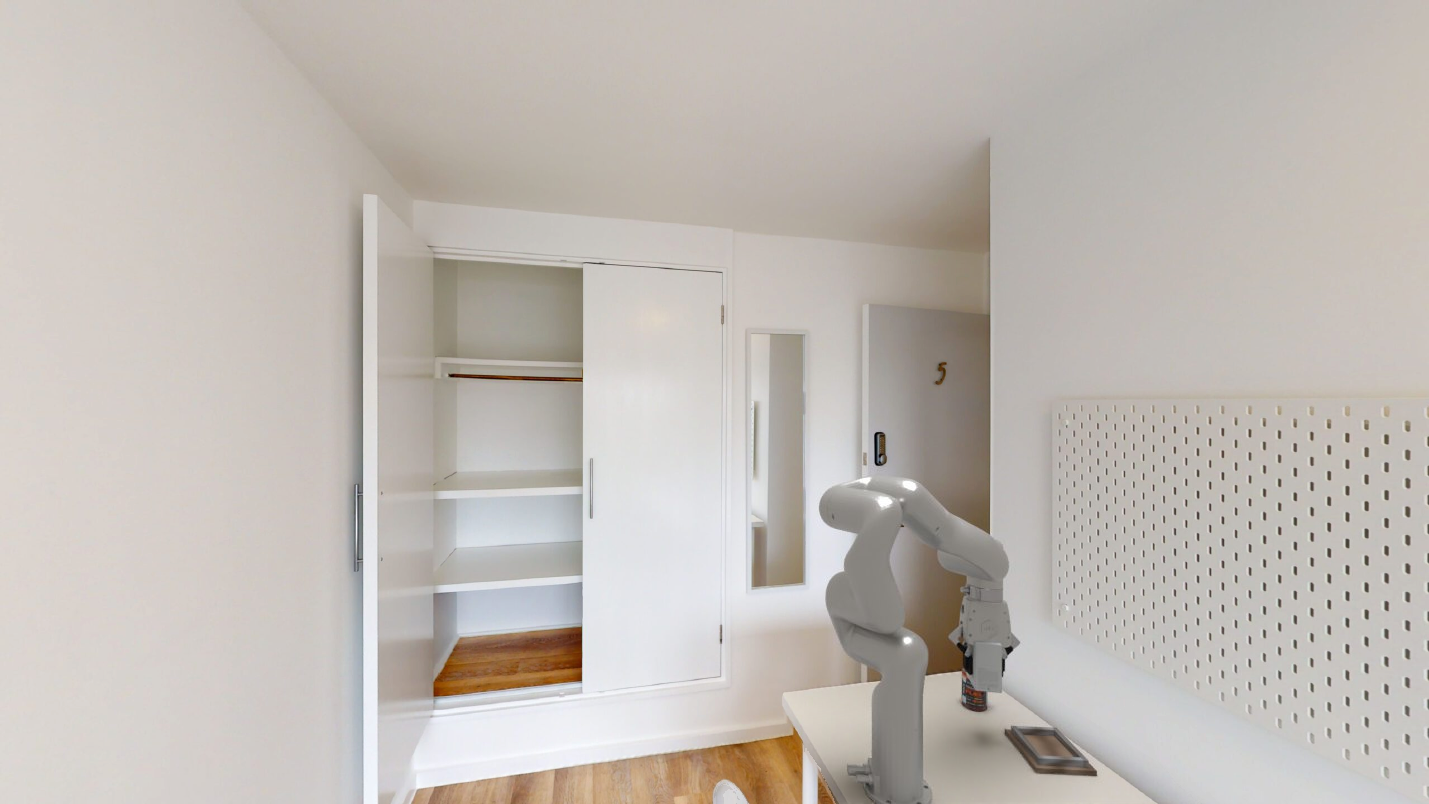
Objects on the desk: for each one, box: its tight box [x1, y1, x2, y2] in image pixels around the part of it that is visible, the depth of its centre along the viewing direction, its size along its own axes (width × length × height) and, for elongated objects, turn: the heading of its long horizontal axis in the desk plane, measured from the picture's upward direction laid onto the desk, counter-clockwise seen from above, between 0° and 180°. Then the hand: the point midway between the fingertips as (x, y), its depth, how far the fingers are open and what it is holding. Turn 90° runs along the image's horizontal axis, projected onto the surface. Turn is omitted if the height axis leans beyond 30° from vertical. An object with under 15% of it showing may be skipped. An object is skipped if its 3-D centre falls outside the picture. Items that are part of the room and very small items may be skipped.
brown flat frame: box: [1004, 725, 1098, 777], centre depth 119 cm, size 12×14×2 cm
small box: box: [966, 642, 1003, 694], centre depth 125 cm, size 8×6×10 cm
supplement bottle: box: [961, 667, 988, 712], centre depth 139 cm, size 6×6×11 cm
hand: (983, 672), depth 125 cm, fingers closed on small box, 6 cm apart
